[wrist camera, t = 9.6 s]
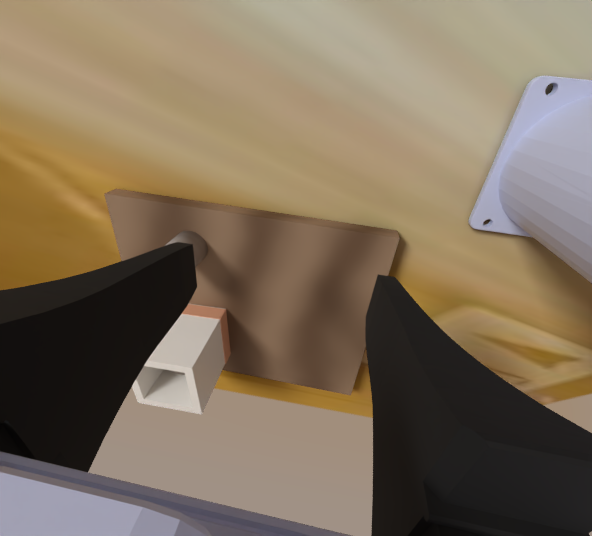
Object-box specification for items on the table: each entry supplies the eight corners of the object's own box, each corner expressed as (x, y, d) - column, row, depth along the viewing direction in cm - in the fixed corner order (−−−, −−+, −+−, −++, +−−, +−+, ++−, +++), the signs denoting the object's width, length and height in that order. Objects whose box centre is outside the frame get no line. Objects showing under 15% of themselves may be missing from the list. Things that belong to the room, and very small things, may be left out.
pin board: (397, 230, 19) (410, 271, 15) (350, 384, 28) (350, 439, 23) (116, 188, 21) (54, 214, 17) (152, 345, 29) (118, 389, 25)
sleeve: (226, 308, 24) (192, 367, 19) (231, 352, 26) (202, 414, 21) (167, 300, 24) (118, 355, 19) (177, 344, 27) (137, 403, 22)
